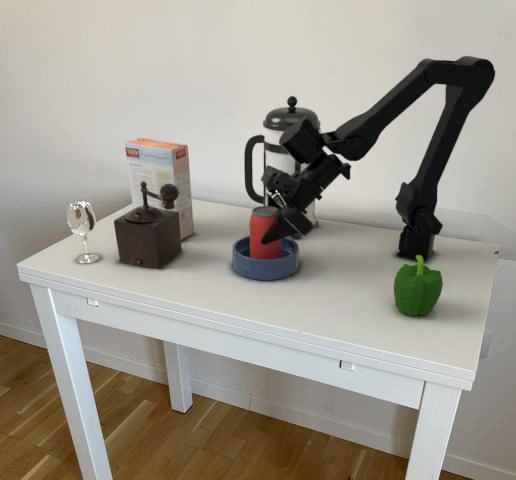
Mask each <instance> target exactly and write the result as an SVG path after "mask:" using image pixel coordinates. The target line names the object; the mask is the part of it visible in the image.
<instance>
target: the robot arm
mask: <svg viewBox="0 0 516 480" xmlns="http://www.w3.org/2000/svg"><path fill="white" fill-rule="evenodd" d="M495 79H496V70H495V68H494V64H493V63H492V61H490V60H489V59H486V58H481V57H476V56H471V55H464V56H461V57H460V58H458V59H456V60H448V59H447V60H446V59H433V58H429V57H428V58H427V57H426V58H423V59H421V60H420V61H419V62H418V63H417V65H416V66H415V67H414V68H413V69H412V70H411V71H410V72H409V73H407V75H406V76H405V77H403V78H402V79H401V80H400V81H399V82H398V83H396V85H395V86H393V87H392V88H391V89H390V90H389V91H388V92H387V93H385V95H384V96H382V97H381V98H380V99H379V100H378V101H377V102H375V104H373V105H372V106H371V107H370V108H369V109H367V110H366V111H365V112H363V113H361V114H358V115H356V116H354V117H352V118H350V119H349V120H347V121H345V122H344V123H342V124H341V125H339V126H338V127H337V128H336V129H335V130H332V131H327V132H326V131H325V132H322V133H321V134H320V133H319V132H318V131H317V130H316V129H315V128H314V126H313V125H312V123H311V122H310V120H309V119H308V118H306V117H305V116H304V117H303V118H302V119H301V120H300V121H297V122H296V123H294V124H293V125H292V126H291V127H290V126H289V127H288V128H287V129H286V130H285V131H284V133H283V134H282V136H281V137H280V139H279V144H280V145H281V146H282V147H283V148H284V149H285V150H286V151H287V152H288V153H289V154H290V155H291V156H292V158H293V159H294V160H295V161H296V162H297V163H298V164H304V163H306V164H309V165H308V166H307V167H306V168H305V169H304V170H303V171H302V172H301V173H300V172H299V171H297V172H294V173H293V174H292V175H289V174H288V173H285V172H283V171H282V170H278V169H276V168H274V167H272V166H269V165H267V167H266V169H265V171H264V170H263V172H262V176H261V178H260V181H261V182H262V185H263V187H264V186H266V189H267V190H268V191H269V192H270V193H271V194H270V195H269V194H268V193H267V194H266V196H267V206H271V207H275V208H277V209H279V211H278V210H276V220H275V222H274V223H273V224H272V226H271V227H270V228H269V230H268V231H267V232H266V233H265V235H264V236H263V238H262V239H261V243H262V244H263V245H265V244H268V243H271V242H273V241H276V240H279V239H281V238H284V237H290V236H291V237H292V235H294V234H299V235H300V234H301V235H302V236H303V237H306V236H307V235H308V234H309V233H310V232H311V231H312V230H313V226H312V224H313V221H312V222H311V221H310V219H309V218H308V217H307V216H306V214H307V213H308V212H307V211H306V208H307V207H308V206H309V205H310V204H311V203H312V202H313V201H314V200H315V201H316V200H317V201H321V200H322V198H323V195H321V194H322V193H323V192H325V190H326V189H327V188H328V187H329V186H330V185H332V183H333V182H334V181H335V180H336V179H337V178H338V177H339V176H340V175H341V176H342V177H344V179H346V180H347V181H350V180H351V169H352V165H351V164H350V163H349V162H358V161H361V160H362V159H363V158H364V157H366V156H367V154H368V153H369V151H371V150H372V148H374V146H375V145H376V143H377V141H378V140H379V138H380V136H381V134H382V133H383V131H384V130H385V129H386V128H387V127H388V126H389V125H390V124H391V123H393V122H394V121H395V120H396V119H397V118H399V116H400V115H402V114H403V113H404V112H405V111H406V110H407V109H408V108H409V107H411V106H412V105H413V104H414V103H415V102H416V101H418V99H420V98H421V97H422V96H424V94H426V92H428V91H429V90H430V89H431V88H432V87H434V86H435V85H444V86H445V98H444V99H445V100H444V101H445V102H444V107H443V110H442V112H441V114H440V116H439V119H438V122H437V123H436V126H435V129H434V131H433V133H432V136H431V137H430V141H429V143H428V145H427V147H426V150H425V152H424V155H423V158H422V160H421V163H420V165H419V167H418V170H417V172H416V175H415V176H414V178H413V179H412V180H411V181H410V182H408V183H407V182H405V181H402V183H401V184H400V187H399V191H398V194H397V196H396V197H394V200H395V210H396V212H397V215H399V216H400V217H401V221H402V223H404V224H405V226H403V229H402V232H400V233H399V234H400V235H399V241H398V247H397V250H398V252H397V253H396V256H397V257H400V258H405V259H409V260H412V261H416V262H418V260H417V259H416V256H417V255H421V256H422V257H423V262H424V263H426V262H427V261H428V260H429V259H430V258H431V257H432V256H433V255H434V254H435V250H433V249H434V244H435V239H436V235H439V234H440V232H441V231H442V229H443V226H444V225H443V223H442V222H441V221H440V220H439V219H438V218H437V216H436V215H435V212H436V208H437V205H438V187H439V183H440V181H441V178H442V176H443V174H444V172H445V170H446V167H447V165H448V163H449V160H450V157H451V155H452V153H453V151H454V149H455V146H456V145H457V141H458V140H459V137H460V135H461V133H462V131H463V128H464V126H465V123H466V121H467V119H468V117H469V114H470V113H471V112H472V110H473V109H475V108H476V107H477V105H479V104H480V103H481V101H483V99H484V98H485V97H486V95H487V93H488V92H489V90H490V88H491V86H492V85H493V83H494V81H495ZM324 148H326V149H327V150H328V151H330V152H331V153H330V154H328V153H327V152H326V151H325V150H324ZM337 155H339V156H341V157H342V158H344V159H345V160H346V161H349V162H343V161H342V160H341V159H340V158H339V157H338V156H337Z"/></svg>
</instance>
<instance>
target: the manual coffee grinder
mask: <svg viewBox="0 0 516 480" xmlns="http://www.w3.org/2000/svg"><path fill="white" fill-rule="evenodd" d="M140 184H141V187H142V188H141V190H140V192H142V195H143V206H139V207H137V208H135V209H133V208H132V209H131V210H130V211H128V212H126V213H125V214H122V215H121V216H119V217H117V218H115V219H114V220H113V226H114V232H115V239H116V245H117V251H118V258H119V259H118V261H119V263H122V264H127V265H131V266H136V267H146V268H151V269H152V268H153V269H161V268H163V267H165V266H168V265H169V263H171V262H172V261H173V260H175V259H176V258H177V257H178V256H179V255H180V254H182V251H183V248H182V240H181V235H180V221H179V212H175V211H169V210H171V209H174V208H175V204H174V201H175V200H176V199H177V198H178V196H179V193H180V192H179V189H178V188H177V187H176V186H175V185H173V184H165V185H163V186H162V187H161V188H160V195H161V196H160V195H158V194H155V193H152V192H150V191H148V190H147V188H146V186H147V184H146V182H144V181H142V182H141V183H140ZM147 195H149V196H151V197H153V198H156V199H159V200H161V201H163V202H162V204H161V206H162V207H163V208H164V209H167V210H162V209H158V208H156V207H153V206H149V205H148V201H147ZM168 209H169V210H168Z"/></svg>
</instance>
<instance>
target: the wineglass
mask: <svg viewBox="0 0 516 480" xmlns="http://www.w3.org/2000/svg"><path fill="white" fill-rule="evenodd" d="M95 215H96V214H95V213H94V209H93V207H92V205H91V203H90V202H87V201H75V202H71V203H68V204H67V205H66V222H67V223H66V224H67V226H68V229H69V230H70V231H71V232H72V233H73V234H74V235H77V236H82V242H83V244H84V247H85V254H84V255H81V256H79V257H78V259H77V261H78V262H79V263H82V264H91V263H95V262H97V261H98V260H99V259H100V256H99V255H97V254H94V253H92V254H91V253H90V252H89V246H88V241H89V240H88V239H89V238H88V237H87V236H88V235H90V234H91V233H93V232H94V231H95V230H96V227H97V219H96V216H95Z"/></svg>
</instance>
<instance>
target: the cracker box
mask: <svg viewBox="0 0 516 480" xmlns="http://www.w3.org/2000/svg"><path fill="white" fill-rule="evenodd" d="M124 148H125V155H126V156H125V157H126V162H127V164H126V165H127V170H128V171H127V172H128V179H129V186H130V194H131V195H130V196H131V202H132V210H133V209H135V208H137V207H139V206H143V195H142V192H140V190H141V188H142V187H141V184H140V183H141V182H142V181H144V182H146V184H147V186H146V188H147V190H148V191H150V192H152V193H155V194H158V195H160V188H161V187H162V186H163V185H165V184H173V185H175V186H176V187H177V188H178V189H179V192H180V193H179V196H178V198H177V199H176V200H175V201H174V204H175V208H174V209H171V210H169V209H168V210H169V211H175V212H179V221H180V235H181V241H182V240H184V239H186V238H189V237H190V236H192V235H194V234H195V229H194V228H195V227H194V216H193V215H194V214H193V213H194V212H193V201H192V189H191V188H192V186H191V174H190V173H191V172H190V158H189V145H188V144H183V143H175V142H169V141H163V140H156V139H151V138H150V139H149V138H144V137H143V138H142V137H139V138H136V139H132V140H129V141H126V142H124ZM160 196H161V195H160ZM147 201H148V205H149V206H153V207H156V208H158V209H162V210H167V209H164V208H163V207H162V206H161V204H162V202H163V201H161V200H159V199H156V198H153V197H151V196H149V195H147Z"/></svg>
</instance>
